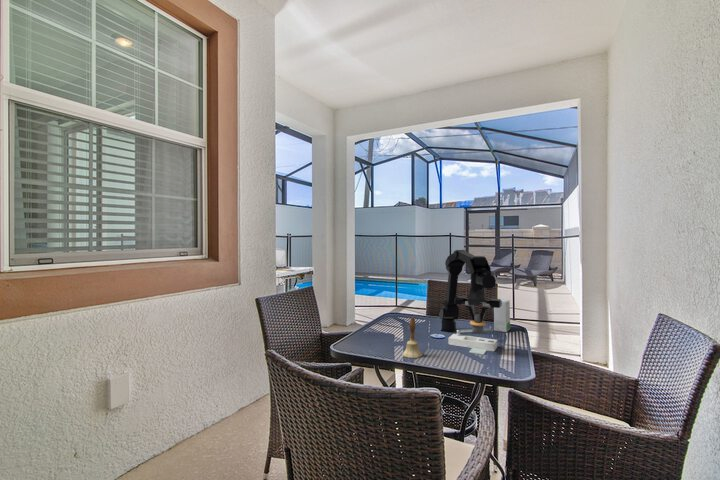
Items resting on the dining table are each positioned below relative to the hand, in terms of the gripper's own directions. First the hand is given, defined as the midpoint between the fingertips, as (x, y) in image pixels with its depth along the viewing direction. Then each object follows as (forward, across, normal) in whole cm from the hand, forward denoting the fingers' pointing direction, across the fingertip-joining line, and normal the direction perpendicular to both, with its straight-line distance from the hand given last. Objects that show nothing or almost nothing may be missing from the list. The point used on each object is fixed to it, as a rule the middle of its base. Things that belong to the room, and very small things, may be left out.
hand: (477, 321), depth 151 cm
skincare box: (+13, +3, +42) cm, 44 cm away
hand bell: (+13, -23, -18) cm, 32 cm away
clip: (+9, -5, +14) cm, 18 cm away
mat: (+13, 0, 0) cm, 13 cm away
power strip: (+13, -5, +8) cm, 16 cm away
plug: (+4, 0, 0) cm, 4 cm away
